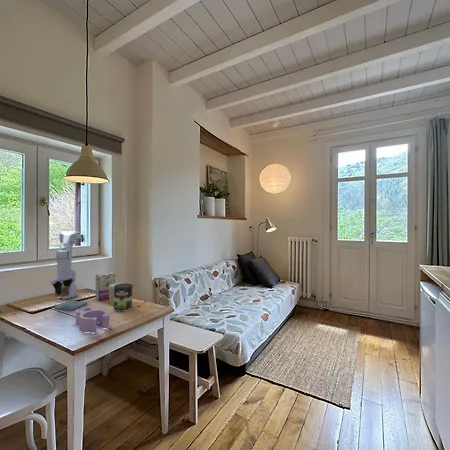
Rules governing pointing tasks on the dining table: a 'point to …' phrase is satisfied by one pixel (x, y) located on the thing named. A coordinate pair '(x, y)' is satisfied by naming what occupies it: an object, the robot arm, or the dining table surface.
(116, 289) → the coffee can
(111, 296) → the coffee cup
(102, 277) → the candy bar box
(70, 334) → the dining table surface
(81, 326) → the clip
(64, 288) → the walnut cube
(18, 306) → the dining table surface
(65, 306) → the slate board
